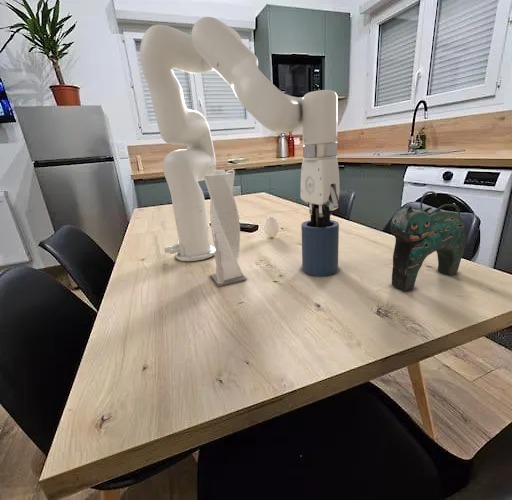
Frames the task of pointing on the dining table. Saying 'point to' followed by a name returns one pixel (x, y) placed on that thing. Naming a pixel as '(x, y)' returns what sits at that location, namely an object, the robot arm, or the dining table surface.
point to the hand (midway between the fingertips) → (320, 230)
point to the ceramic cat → (426, 241)
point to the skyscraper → (224, 226)
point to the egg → (271, 226)
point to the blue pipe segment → (320, 249)
